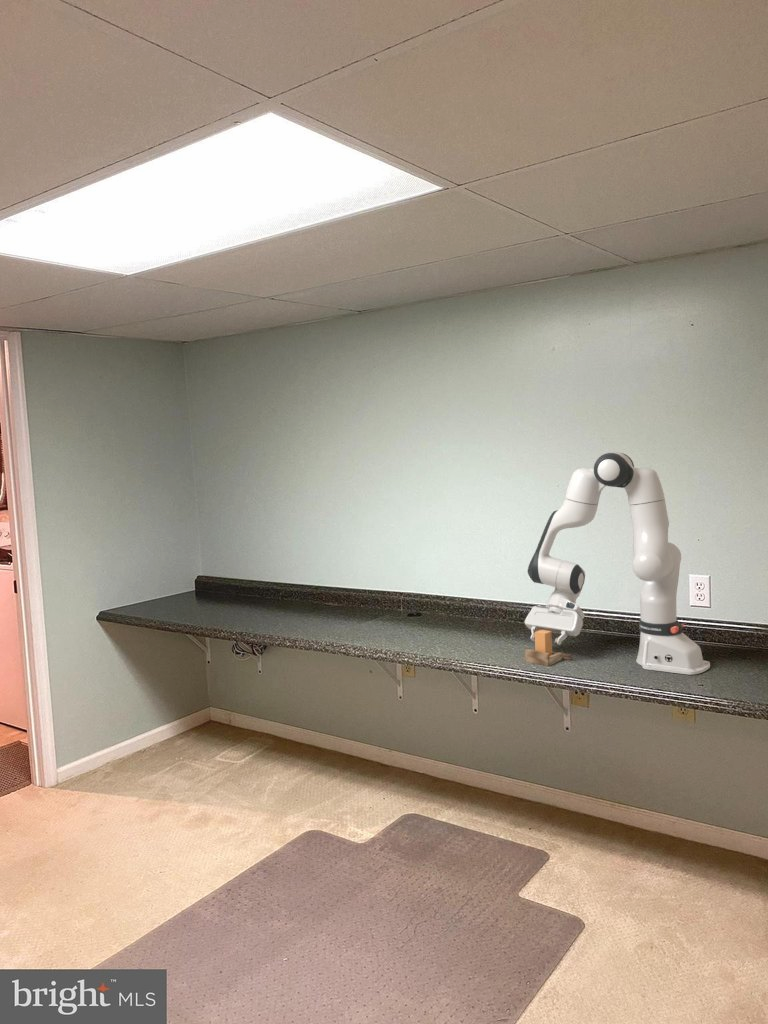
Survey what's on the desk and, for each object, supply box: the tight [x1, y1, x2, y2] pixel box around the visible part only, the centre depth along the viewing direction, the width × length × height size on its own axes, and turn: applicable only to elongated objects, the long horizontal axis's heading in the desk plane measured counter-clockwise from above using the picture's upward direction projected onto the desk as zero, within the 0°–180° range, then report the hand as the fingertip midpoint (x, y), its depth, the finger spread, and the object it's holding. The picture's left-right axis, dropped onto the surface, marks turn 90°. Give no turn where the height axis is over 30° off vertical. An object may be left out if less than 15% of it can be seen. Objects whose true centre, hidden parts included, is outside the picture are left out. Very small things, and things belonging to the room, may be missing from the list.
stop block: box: [534, 630, 553, 656], centre depth 260 cm, size 4×4×10 cm
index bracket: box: [524, 648, 563, 667], centre depth 261 cm, size 9×8×4 cm
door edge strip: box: [552, 651, 572, 661], centre depth 265 cm, size 12×2×1 cm, turn 45°
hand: (544, 641), depth 261 cm, fingers open, 8 cm apart
